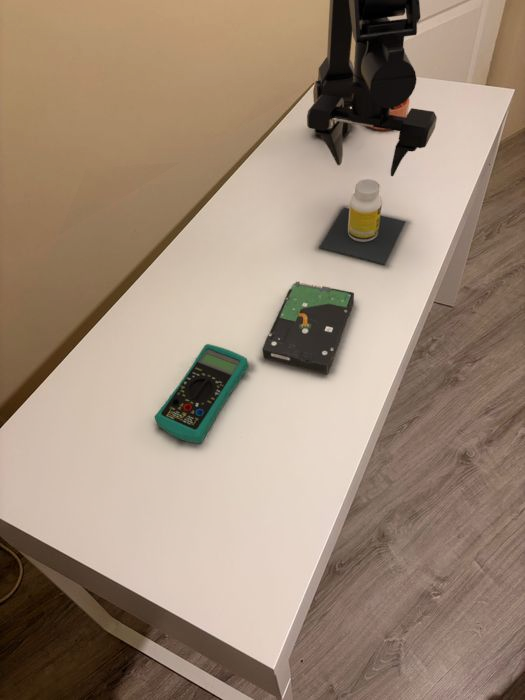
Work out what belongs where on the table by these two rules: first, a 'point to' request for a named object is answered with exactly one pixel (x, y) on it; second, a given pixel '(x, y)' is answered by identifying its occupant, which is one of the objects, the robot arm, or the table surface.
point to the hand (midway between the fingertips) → (365, 169)
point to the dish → (398, 112)
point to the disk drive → (309, 327)
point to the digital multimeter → (201, 393)
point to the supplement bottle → (365, 211)
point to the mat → (368, 250)
